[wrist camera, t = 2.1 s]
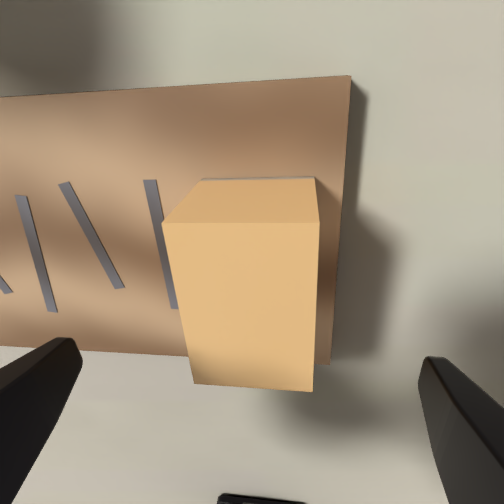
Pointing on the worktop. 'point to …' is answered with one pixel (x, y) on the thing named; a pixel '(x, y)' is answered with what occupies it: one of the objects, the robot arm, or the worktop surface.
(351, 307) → the worktop surface
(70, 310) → the board
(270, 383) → the block
